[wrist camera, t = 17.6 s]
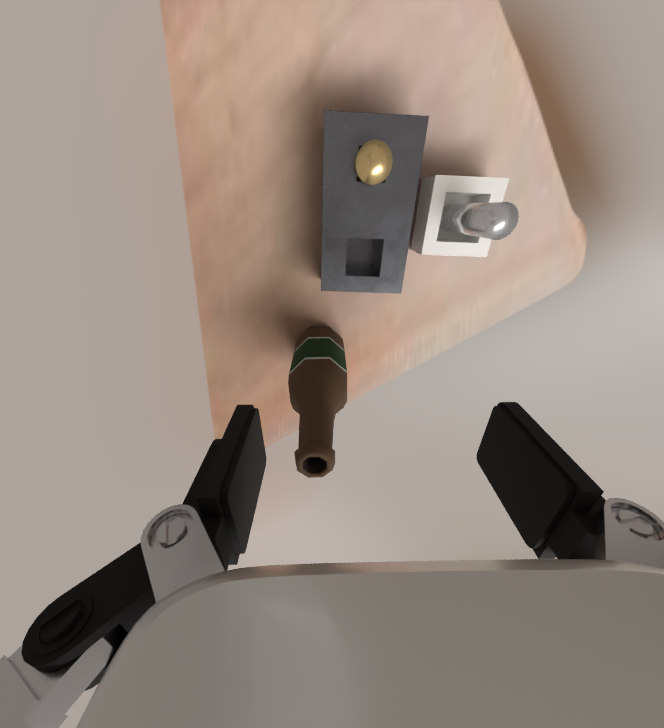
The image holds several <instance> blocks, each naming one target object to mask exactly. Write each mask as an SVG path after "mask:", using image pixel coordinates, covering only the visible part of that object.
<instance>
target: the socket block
mask: <svg viewBox="0 0 664 728" xmlns="http://www.w3.org/2000/svg"><path fill="white" fill-rule="evenodd" d="M428 118H429V116H417V115H398V114H379V113H361V112H342V111H324V146H323V201H322V257H321V291H345V292H374V293H401V290H402V284H403V277H404V271H405V265H406V258H407V252H408V246H409V239H410V233H411V226H412V220H413V214H414V207H415V201H416V195H417V188H418V182H419V175H420V169H421V163H422V156H423V150H424V144H425V137H426V131H427V125H428ZM371 140H380V141H383V142H384V143H386V144H387V146H388V147H389V148H390V150H391V153H392V159H393V162H392V168H391V171H390V173H389V175H388V176H387V178H386V179H385V180H384V181H382V182H381V183H379V184H376V185H367V184H365V183H363V182H362V181H360V180H359V179H358V177H357V173H356V170H355V160H356V156H357V154H358V152H359V150H360V148H361V147H362V146H363V145H364V144H365V143H366V142H368V141H371Z"/></svg>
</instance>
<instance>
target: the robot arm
mask: <svg viewBox="0 0 664 728" xmlns="http://www.w3.org/2000/svg"><path fill="white" fill-rule="evenodd" d="M477 461H478V463H479V465H480V467H481V469H482V470H483V472H484V474H485V475H486V477H487V479H488V480H489V482H490V484H491V485H492V487H493V489H494V491H495V492H496V494H497V496H498V497H499V499H500V500H501V502H502V504H503V506H504V507H505V509H506V511H507V513H508V514H509V516H510V518H511V519H512V521H513V523H514V524H515V526H516V528H517V529H518V531H519V533H520V534H521V536H522V538H523V540H524V541H525V543H526V544H527V545H528V546H529V547H530V548H532V549H533V550H534V552H535V553H536V555H537V557H538V560H537V559H530V560H460V561H409V562H407V561H406V562H362V563H320V564H294V565H270V566H258V567H247V568H239V569H234V570H229V571H227V569H228V565H232V564H233V565H234V564H235V565H236V564H237V562H238V558H239V555H240V553H241V554H242V553H245V551H246V547H247V543H248V539H249V534H250V530H251V526H252V522H253V517H254V513H255V509H256V504H257V500H258V496H259V492H260V487H261V483H262V479H263V474H264V470H265V466H266V453H265V447H264V441H263V434H262V428H261V422H260V416H259V410H258V408H254V406H253V405H237V407H236V409H235V411H234V413H233V415H232V418H231V420H230V422H229V424H228V427H227V429H226V431H225V433H224V435H223V438H222V439H215V440H214V441H213V442H212V444H211V446H210V448H209V450H208V452H207V454H206V456H205V458H204V460H203V462H202V465H201V467H200V469H199V471H198V473H197V475H196V477H195V479H194V481H193V483H192V485H191V487H190V489H189V492H188V494H187V496H186V498H185V500H184V502H183V504H180V505H175V506H171V507H169V508H167V509H165V510H163V511H161V512H160V513H158V514H157V515H155V517H154V518H153V519H152V520H151V521H150V522H149V523H148V524H147V526H146V527H145V529H144V530H143V533H142V537H141V543H139V544H138V545H136V546H135V547H133V548H132V549H130V550H129V551H127V552H126V553H124V554H123V555H121V556H120V557H119V558H117V559H115V560H114V561H112V562H111V563H109V564H108V565H106V566H105V567H103V568H102V569H100V570H99V571H97V572H96V573H94V574H93V575H91V576H90V577H88V578H87V579H85V580H84V581H82V582H81V583H79V584H78V585H76V586H75V587H73V588H72V589H70V590H69V591H67V592H66V593H64V594H63V595H62V596H60V597H59V598H57V599H56V600H55V601H54V602H52V603H51V604H50V605H48V606H47V607H46V608H45V610H44V611H43V612H42V613H41V614H40V615H39V616H38V617H37V618H36V620H35V621H34V623H33V624H32V625H31V627H30V628H29V630H28V632H27V634H26V636H25V638H24V641H23V645H22V646H21V647H20V648H19V649H18V650H16V652H14V653H13V654H12V655H11V656H10V657H9V658H8V657H6V656H5V655H4V656H3V657H2V658H1V659H0V728H58V727H59V726H60V725H61V724H62V723H63V722H64V720H65V719H66V718H67V715H66V714H65V713H66V712H67V711H68V710H69V708H70V707H71V706H72V704H74V702H75V701H76V700H77V699H78V697H79V696H80V695H81V694H82V693H83V692H84V691H86V690H88V689H91V688H92V687H94V686H95V685H97V684H98V683H99V684H98V686H97V688H96V690H95V692H94V694H93V696H92V698H91V700H90V702H89V704H88V706H87V708H86V710H85V712H84V714H83V716H82V717H81V720H80V722H79V724H78V726H77V728H664V522H663V521H662V520H661V519H659V518H658V517H657V516H656V515H655V514H653V513H652V512H650V511H649V510H647V509H646V508H644V507H642V506H640V505H638V504H636V503H634V502H631V501H628V500H626V499H620V498H610V499H608V500H605V499H604V498H603V497H602V496H601V495H602V493H603V490H601V488H600V487H599V486H598V485H597V484H596V483H595V482H594V481H593V480H592V479H591V478H590V477H589V476H588V475H587V474H586V473H585V472H584V471H583V470H582V469H581V468H580V467H579V466H578V465H577V464H576V463H575V462H574V461H573V460H572V459H571V457H570V456H569V455H568V454H567V453H566V452H565V451H564V450H563V449H562V448H561V447H560V446H559V445H558V444H557V443H556V442H555V441H554V440H553V439H552V438H551V437H550V436H549V435H548V434H547V433H546V432H545V431H544V430H543V429H542V428H541V427H540V426H539V424H537V422H536V421H535V420H534V419H533V418H532V417H531V416H530V415H529V414H528V413H527V412H526V411H525V410H524V409H523V408H522V407H521V406H520V405H519V404H518V403H516V402H501V403H499V404H498V405H497V406H495V407H494V408H493V410H492V413H491V416H490V419H489V422H488V424H487V427H486V430H485V433H484V436H483V438H482V441H481V444H480V447H479V450H478V452H477ZM555 557H557V558H558V559H554V558H555Z"/></svg>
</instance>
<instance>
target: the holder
mask: <svg viewBox="0 0 664 728" xmlns="http://www.w3.org/2000/svg"><path fill="white" fill-rule="evenodd" d="M508 181H509V178H494V177H472V176H451V175H433V176H430V177H427V178H424V179H422V182H421V188H420V194H419V200H418V206H417V213H416V219H415V225H414V231H413V237H412V244H411V250H413V251H415V252H417V253H419V254H421V255H447V256H473V257H487V254H488V250H489V247H490V243H491V240H492V239H487V238H482V237H477V236H471V235H466V234H461V233H456V232H450V231H445V230H442V229H441V228H440V227H439V226H440V221H441V216H442V211H443V207H445V206H446V205H449V204H467V203H496V202H503V198H504V195H505V191H506V188H507V184H508Z"/></svg>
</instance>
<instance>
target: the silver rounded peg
mask: <svg viewBox="0 0 664 728" xmlns="http://www.w3.org/2000/svg"><path fill="white" fill-rule="evenodd" d="M517 222H518V210H517V208H516V207H515V205H513V204H512V203H509V202H496V203H467V204H449V205H446V206H445V207H443V211H442V216H441V221H440V226H439V227H440V228H441V229H442V230H445V231H450V232H456V233H461V234H466V235H471V236H477V237H482V238H487V239H493V240H499V239H503V238H505V237H506V236H508V235H509V234H510V233H511V232H512V231H513V230H514V228H515V227H516V224H517Z"/></svg>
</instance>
